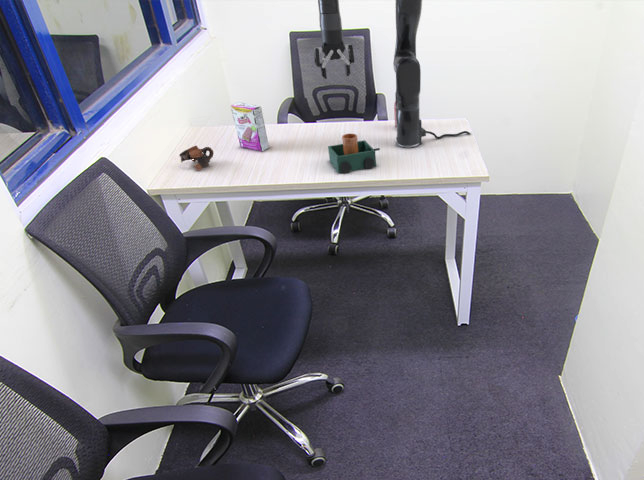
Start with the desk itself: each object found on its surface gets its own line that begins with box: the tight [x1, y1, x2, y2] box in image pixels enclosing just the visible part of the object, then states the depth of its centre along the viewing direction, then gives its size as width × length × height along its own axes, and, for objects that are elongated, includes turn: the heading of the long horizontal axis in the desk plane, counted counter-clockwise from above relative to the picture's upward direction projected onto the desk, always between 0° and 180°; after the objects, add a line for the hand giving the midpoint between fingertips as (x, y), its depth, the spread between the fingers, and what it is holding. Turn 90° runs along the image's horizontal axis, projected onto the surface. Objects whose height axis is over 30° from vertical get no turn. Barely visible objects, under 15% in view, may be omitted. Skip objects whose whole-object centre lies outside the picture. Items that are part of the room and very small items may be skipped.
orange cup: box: [341, 133, 359, 155], centre depth 189 cm, size 5×5×10 cm
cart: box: [327, 139, 377, 174], centre depth 190 cm, size 15×12×6 cm
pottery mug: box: [179, 145, 215, 172], centre depth 191 cm, size 12×10×8 cm
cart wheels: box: [340, 147, 381, 174], centre depth 192 cm, size 18×14×4 cm
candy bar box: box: [230, 102, 270, 152], centre depth 200 cm, size 11×5×16 cm, turn 65°
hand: (336, 77), depth 189 cm, fingers open, 8 cm apart
